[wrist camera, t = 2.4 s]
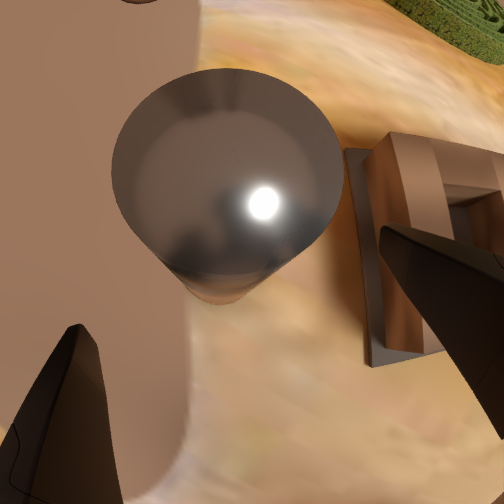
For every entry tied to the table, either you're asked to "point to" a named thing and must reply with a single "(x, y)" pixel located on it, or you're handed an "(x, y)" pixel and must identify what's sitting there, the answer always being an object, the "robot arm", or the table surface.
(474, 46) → the maze
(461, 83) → the table surface
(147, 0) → the wooden toy train
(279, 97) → the steel pin
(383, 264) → the socket block
